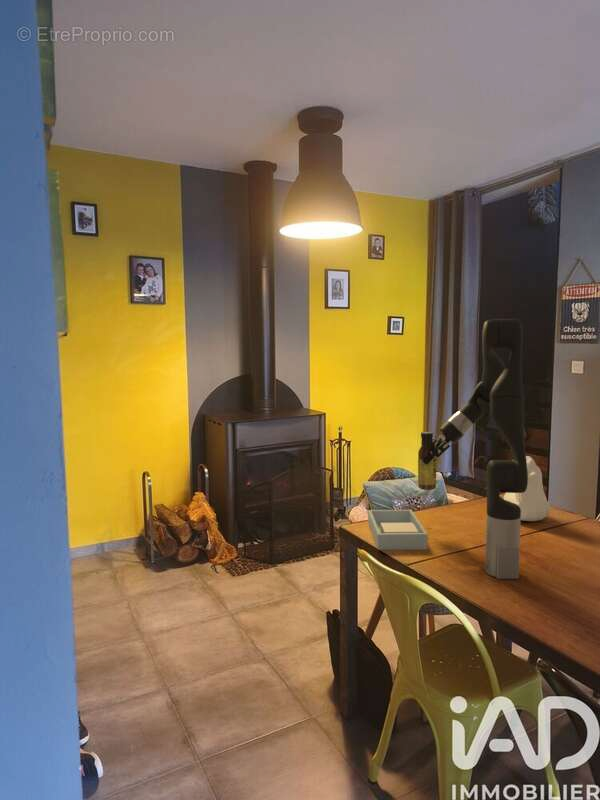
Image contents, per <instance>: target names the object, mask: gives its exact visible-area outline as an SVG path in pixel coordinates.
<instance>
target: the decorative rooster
mask: <svg viewBox="0 0 600 800" xmlns="http://www.w3.org/2000/svg"><path fill="white" fill-rule="evenodd" d="M526 462H527V472H528V485H527V489H526V491H525V492H523V493H504V496H503V499H504V500H506V501H509V502H512V503H514V504H516V505H518V506H519V507H520V509H521V521H526V522H536V521H537V522H538V521H541V520H543V519H545V517H546V516H548V515H550V513H551V504H550V503H549V502H548V500H547V496H546V494H545V492H544V491H545V490H544V486H543V474H542V470H541V469H540V467H539V466H538V465H537V463H536V462H535V460H534V458H532V456H528V455H526Z"/></svg>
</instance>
